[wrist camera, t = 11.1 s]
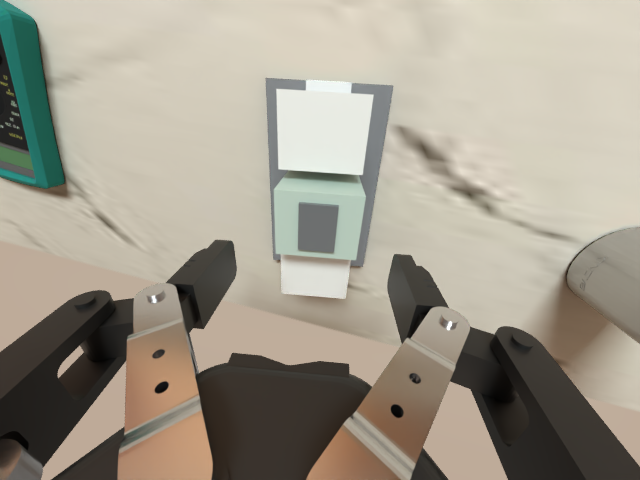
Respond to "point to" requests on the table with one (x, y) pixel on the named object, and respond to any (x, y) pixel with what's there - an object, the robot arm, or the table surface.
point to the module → (318, 214)
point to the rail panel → (325, 160)
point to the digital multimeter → (25, 105)
